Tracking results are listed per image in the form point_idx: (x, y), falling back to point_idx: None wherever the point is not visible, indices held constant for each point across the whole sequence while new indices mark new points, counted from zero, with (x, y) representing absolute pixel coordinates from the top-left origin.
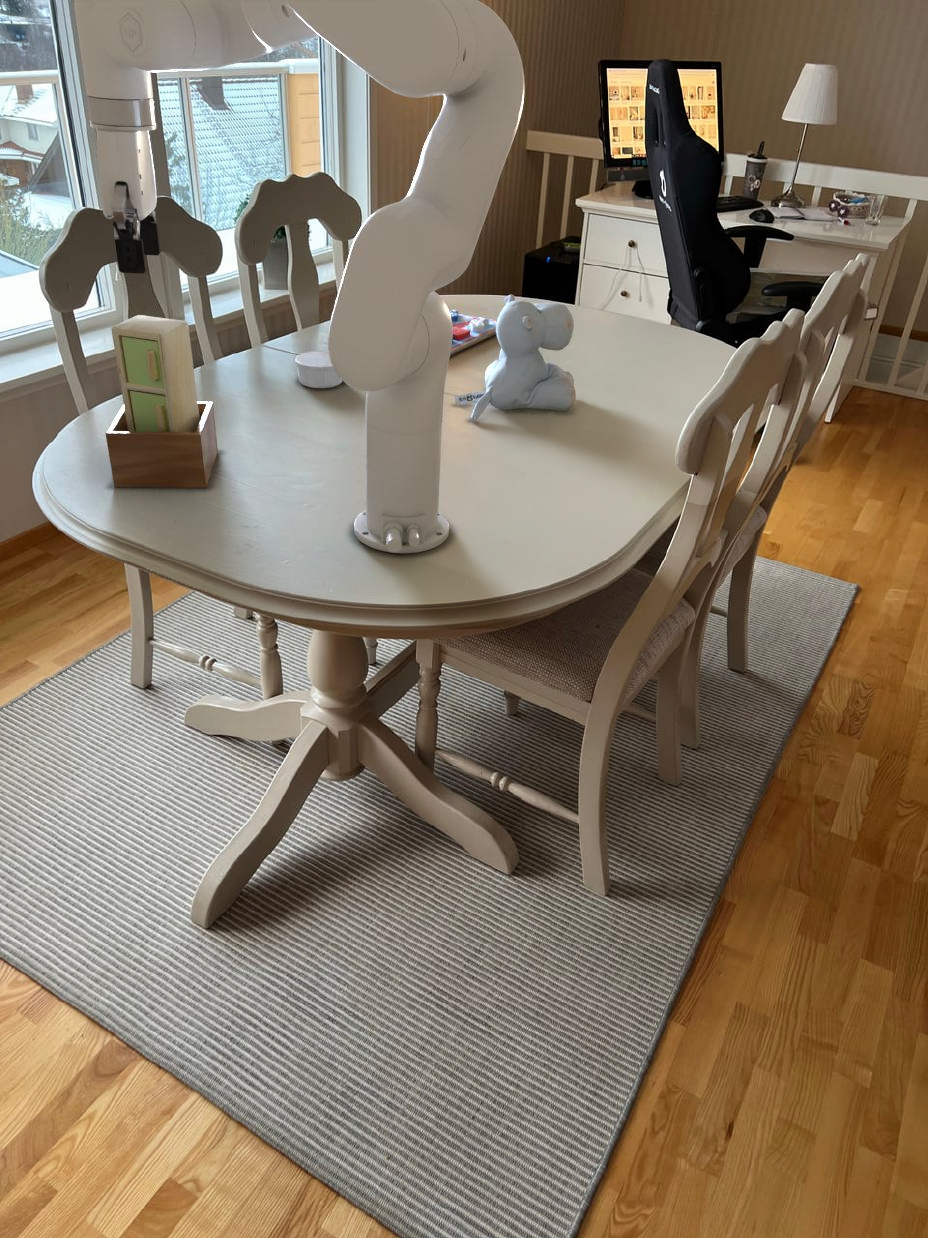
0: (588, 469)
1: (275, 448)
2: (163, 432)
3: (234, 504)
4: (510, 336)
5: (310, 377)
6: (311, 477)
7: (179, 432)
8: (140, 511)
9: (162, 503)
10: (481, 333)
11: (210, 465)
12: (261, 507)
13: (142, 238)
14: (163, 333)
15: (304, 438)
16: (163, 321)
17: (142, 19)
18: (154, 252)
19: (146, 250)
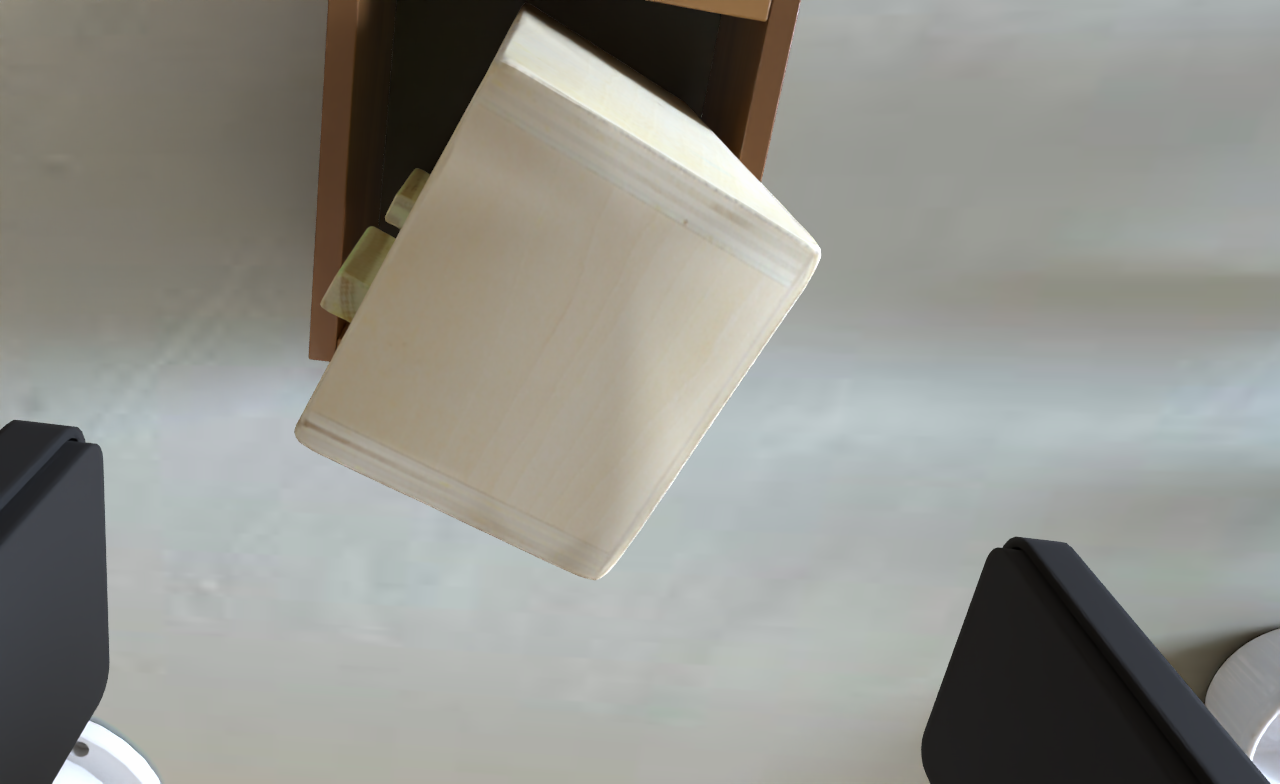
0: None
1: (686, 517)
2: (338, 199)
3: (211, 372)
4: None
5: (1248, 681)
6: (425, 611)
7: (334, 271)
8: (144, 34)
9: (218, 119)
10: None
11: None
12: (188, 456)
13: (1039, 753)
14: (310, 448)
15: (759, 608)
16: (616, 437)
17: None
18: (936, 735)
19: (972, 675)
